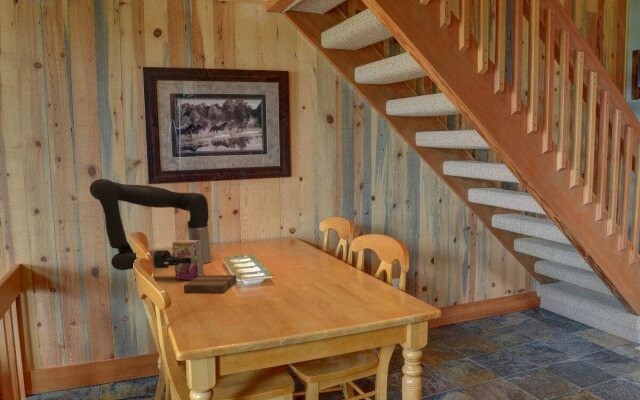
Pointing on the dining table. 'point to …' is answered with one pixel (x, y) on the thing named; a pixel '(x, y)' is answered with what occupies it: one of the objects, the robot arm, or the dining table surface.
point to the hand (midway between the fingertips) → (193, 258)
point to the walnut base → (210, 284)
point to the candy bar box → (188, 251)
